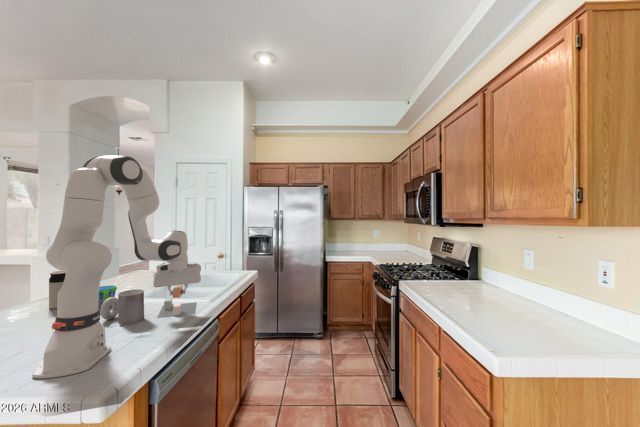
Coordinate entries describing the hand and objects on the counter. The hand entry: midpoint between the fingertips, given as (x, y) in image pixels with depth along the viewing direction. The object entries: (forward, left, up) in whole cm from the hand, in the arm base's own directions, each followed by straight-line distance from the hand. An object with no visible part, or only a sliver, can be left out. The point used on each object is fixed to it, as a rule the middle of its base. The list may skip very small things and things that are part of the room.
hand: (177, 294), depth 145 cm
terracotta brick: (0, 0, -1) cm, 1 cm away
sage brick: (+11, +5, -9) cm, 15 cm away
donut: (+5, +28, -10) cm, 30 cm away
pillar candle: (-4, +18, -10) cm, 21 cm away
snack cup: (+26, +36, -10) cm, 46 cm away
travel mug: (+35, +58, -10) cm, 69 cm away
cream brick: (0, 0, -9) cm, 9 cm away
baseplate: (+6, 0, -10) cm, 12 cm away
